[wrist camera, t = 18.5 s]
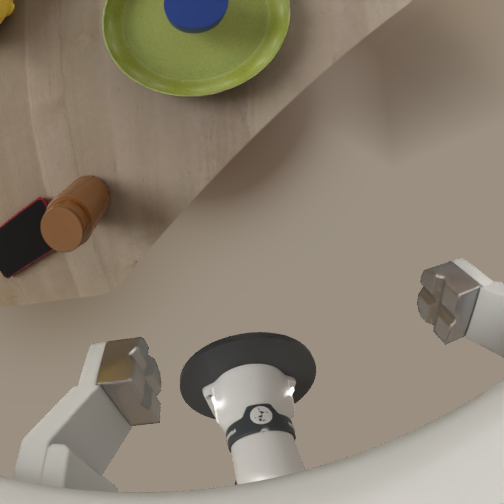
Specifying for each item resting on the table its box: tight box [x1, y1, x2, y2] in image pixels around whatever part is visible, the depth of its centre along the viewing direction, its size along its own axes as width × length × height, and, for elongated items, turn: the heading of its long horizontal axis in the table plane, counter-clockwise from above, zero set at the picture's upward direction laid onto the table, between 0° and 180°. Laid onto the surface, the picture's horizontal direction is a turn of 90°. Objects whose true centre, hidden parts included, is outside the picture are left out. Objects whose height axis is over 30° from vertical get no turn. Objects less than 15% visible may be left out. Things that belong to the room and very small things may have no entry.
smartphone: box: [0, 197, 54, 278], centre depth 36 cm, size 7×1×15 cm
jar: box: [41, 176, 110, 252], centre depth 32 cm, size 6×6×10 cm
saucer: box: [102, 0, 290, 97], centre depth 27 cm, size 21×21×3 cm
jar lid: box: [164, 0, 229, 34], centre depth 24 cm, size 6×6×2 cm
